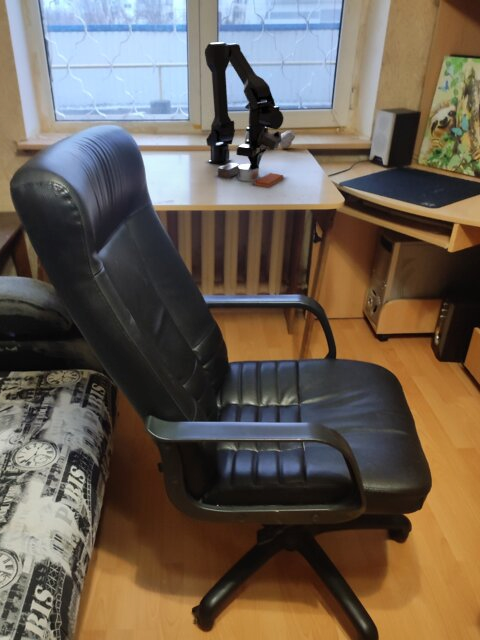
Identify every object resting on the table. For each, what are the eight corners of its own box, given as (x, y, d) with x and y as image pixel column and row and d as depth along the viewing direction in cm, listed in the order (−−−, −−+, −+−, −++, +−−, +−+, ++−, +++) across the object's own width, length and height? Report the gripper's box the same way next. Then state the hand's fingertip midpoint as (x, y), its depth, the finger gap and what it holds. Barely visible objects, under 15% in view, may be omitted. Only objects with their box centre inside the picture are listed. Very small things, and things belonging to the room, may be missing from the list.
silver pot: (234, 179, 195) (234, 167, 192) (244, 174, 199) (245, 162, 197) (252, 182, 191) (252, 170, 189) (262, 177, 196) (262, 165, 194)
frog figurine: (292, 150, 224) (294, 132, 220) (275, 149, 226) (277, 131, 222) (295, 147, 229) (297, 129, 225) (279, 146, 230) (280, 128, 226)
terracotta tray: (253, 184, 189) (253, 181, 189) (269, 175, 197) (269, 172, 197) (267, 187, 187) (268, 184, 186) (283, 178, 195) (283, 174, 194)
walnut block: (217, 176, 198) (217, 168, 196) (228, 171, 203) (229, 162, 201) (228, 178, 196) (228, 169, 194) (239, 172, 201) (239, 164, 199)
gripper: (265, 132, 179) (263, 181, 188) (290, 120, 191) (287, 166, 201) (235, 129, 184) (235, 176, 193) (261, 118, 196) (259, 163, 206)
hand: (255, 170), depth 198 cm, fingers closed
